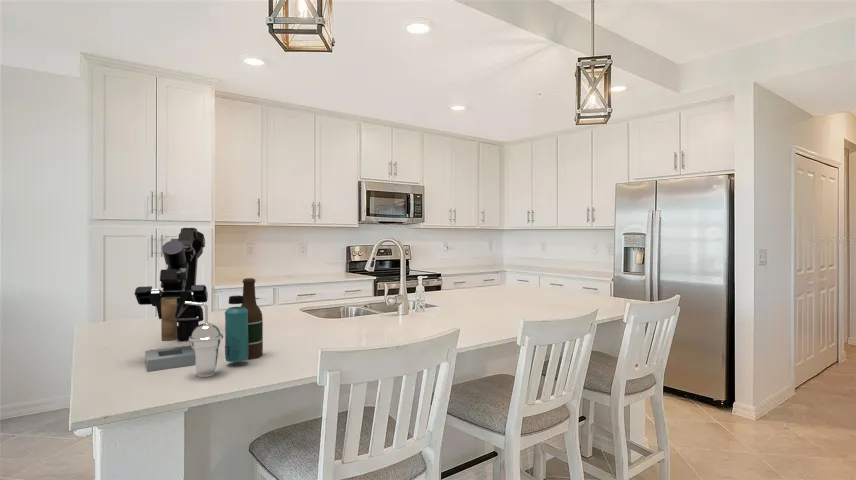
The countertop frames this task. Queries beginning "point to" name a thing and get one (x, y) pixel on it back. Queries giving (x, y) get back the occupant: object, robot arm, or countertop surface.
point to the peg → (168, 319)
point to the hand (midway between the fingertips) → (168, 318)
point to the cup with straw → (205, 345)
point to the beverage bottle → (236, 331)
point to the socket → (169, 358)
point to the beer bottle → (253, 319)
